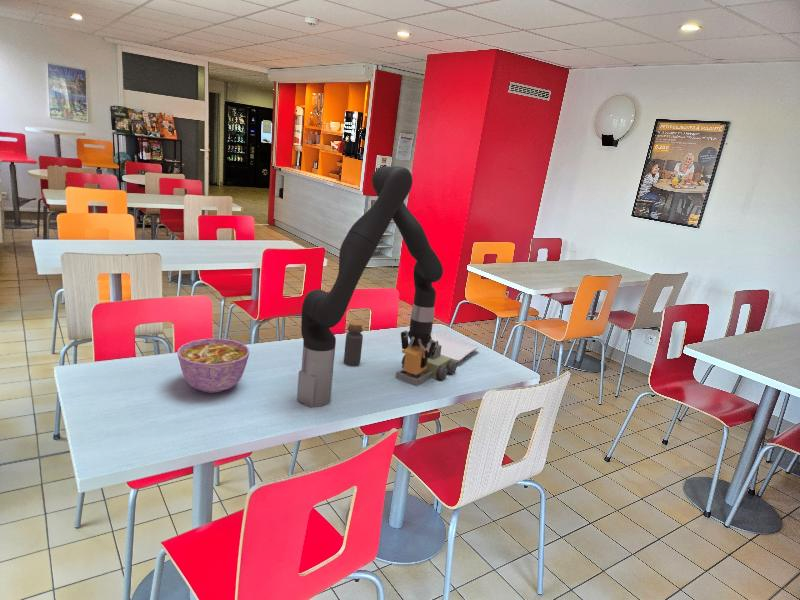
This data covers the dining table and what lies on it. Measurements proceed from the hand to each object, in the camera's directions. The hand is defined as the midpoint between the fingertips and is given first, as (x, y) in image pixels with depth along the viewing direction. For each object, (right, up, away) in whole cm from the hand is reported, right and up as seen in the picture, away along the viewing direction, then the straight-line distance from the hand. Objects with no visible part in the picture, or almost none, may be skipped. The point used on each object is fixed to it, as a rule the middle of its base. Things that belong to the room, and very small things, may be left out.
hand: (415, 364), depth 181 cm
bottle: (-22, -1, +7) cm, 23 cm away
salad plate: (+12, +1, +29) cm, 31 cm away
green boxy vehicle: (+2, -4, +5) cm, 7 cm away
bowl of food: (-61, -4, -23) cm, 65 cm away
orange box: (-1, -2, 0) cm, 2 cm away
